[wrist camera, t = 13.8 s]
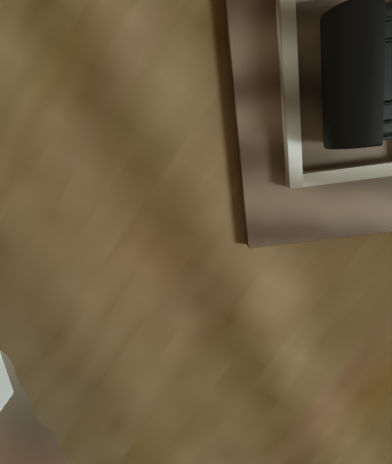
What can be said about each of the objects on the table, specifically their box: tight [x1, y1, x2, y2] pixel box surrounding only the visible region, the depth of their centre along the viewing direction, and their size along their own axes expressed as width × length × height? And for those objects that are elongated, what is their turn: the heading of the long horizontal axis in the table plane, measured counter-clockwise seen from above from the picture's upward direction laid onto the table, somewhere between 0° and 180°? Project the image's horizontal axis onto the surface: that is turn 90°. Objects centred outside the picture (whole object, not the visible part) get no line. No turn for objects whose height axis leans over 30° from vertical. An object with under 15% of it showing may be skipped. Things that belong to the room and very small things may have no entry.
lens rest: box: [225, 0, 392, 248], centre depth 30 cm, size 28×20×3 cm
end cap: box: [320, 0, 392, 150], centre depth 27 cm, size 10×7×7 cm
